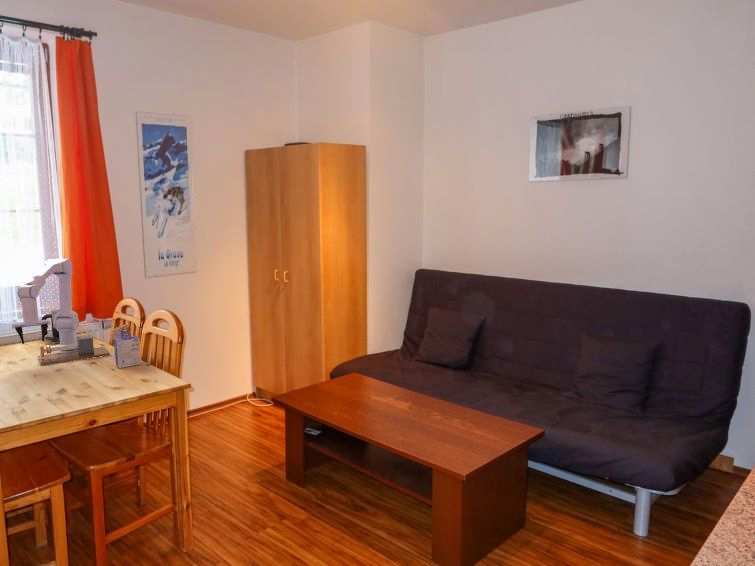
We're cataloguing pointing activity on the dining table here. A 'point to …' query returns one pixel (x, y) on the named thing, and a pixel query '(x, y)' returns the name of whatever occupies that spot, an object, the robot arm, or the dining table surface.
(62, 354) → the bearing base
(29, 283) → the robot arm
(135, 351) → the ink cartridge box
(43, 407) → the dining table surface
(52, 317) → the milk frother
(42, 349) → the shaft
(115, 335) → the candy box
